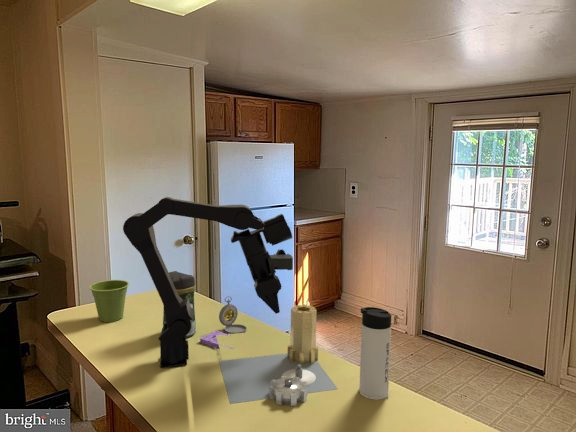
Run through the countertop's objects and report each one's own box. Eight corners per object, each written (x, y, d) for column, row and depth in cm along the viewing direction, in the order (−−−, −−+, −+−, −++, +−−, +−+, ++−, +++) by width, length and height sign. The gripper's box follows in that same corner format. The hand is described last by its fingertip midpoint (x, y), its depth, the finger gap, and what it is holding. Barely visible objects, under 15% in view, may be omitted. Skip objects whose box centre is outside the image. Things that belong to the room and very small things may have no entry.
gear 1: (292, 366, 106) (293, 315, 105) (284, 353, 114) (285, 305, 112) (321, 362, 109) (323, 312, 107) (312, 350, 116) (313, 303, 114)
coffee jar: (158, 333, 128) (156, 272, 126) (180, 326, 135) (179, 267, 132) (178, 342, 122) (177, 278, 120) (200, 334, 129) (199, 273, 126)
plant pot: (85, 317, 140) (83, 284, 139) (121, 309, 148) (120, 277, 147) (98, 328, 132) (97, 292, 130) (136, 319, 140) (135, 285, 138)
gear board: (230, 409, 90) (230, 390, 89) (218, 365, 109) (218, 349, 108) (337, 393, 96) (338, 376, 96) (309, 355, 115) (309, 340, 115)
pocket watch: (242, 336, 127) (242, 303, 126) (215, 334, 129) (215, 301, 127) (250, 326, 135) (250, 295, 134) (225, 324, 137) (224, 293, 135)
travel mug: (354, 389, 98) (357, 304, 96) (383, 389, 99) (386, 304, 96) (361, 405, 92) (364, 314, 89) (391, 404, 93) (396, 314, 90)
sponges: (216, 336, 129) (216, 330, 128) (249, 346, 122) (249, 340, 122) (199, 344, 123) (199, 337, 123) (233, 355, 116) (233, 348, 116)
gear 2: (274, 408, 88) (274, 393, 88) (265, 388, 96) (265, 374, 95) (312, 403, 90) (312, 387, 90) (300, 383, 98) (301, 369, 98)
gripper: (290, 248, 102) (311, 307, 105) (279, 235, 120) (298, 285, 123) (245, 265, 101) (268, 324, 104) (242, 249, 119) (261, 300, 122)
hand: (275, 306), depth 113 cm, fingers open, 9 cm apart
